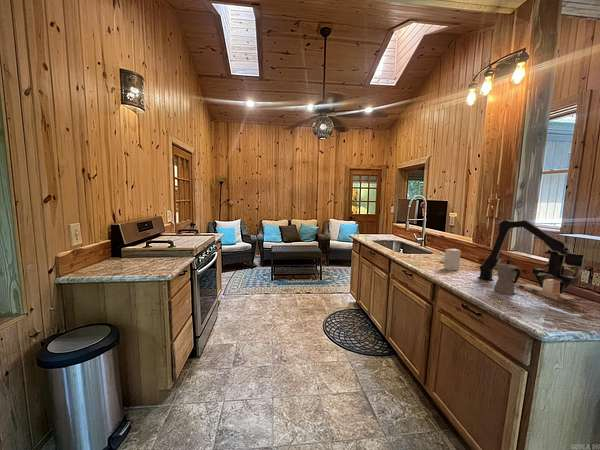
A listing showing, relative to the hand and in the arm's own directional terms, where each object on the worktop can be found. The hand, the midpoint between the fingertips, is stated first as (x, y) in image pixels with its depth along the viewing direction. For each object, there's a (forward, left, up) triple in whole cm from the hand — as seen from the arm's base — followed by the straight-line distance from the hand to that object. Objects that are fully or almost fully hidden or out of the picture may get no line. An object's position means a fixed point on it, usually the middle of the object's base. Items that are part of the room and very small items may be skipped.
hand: (551, 290), depth 147 cm
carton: (0, 0, -1) cm, 1 cm away
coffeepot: (-23, +7, -3) cm, 24 cm away
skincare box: (-17, +52, -3) cm, 55 cm away
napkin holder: (-4, +69, -3) cm, 69 cm away
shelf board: (-2, +3, -3) cm, 4 cm away
